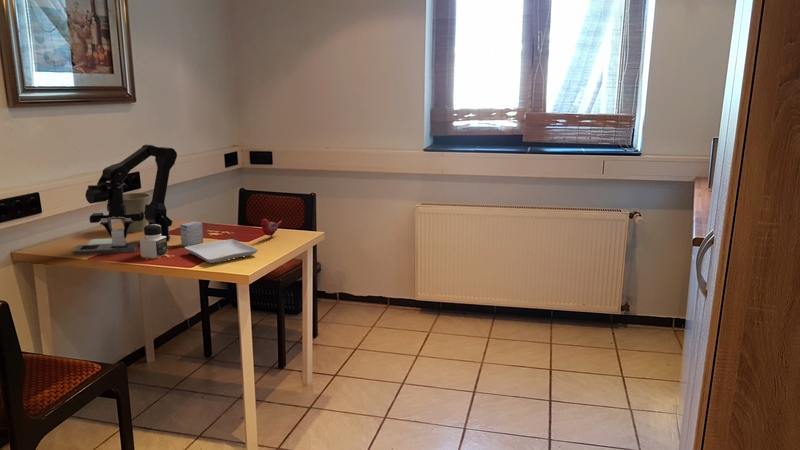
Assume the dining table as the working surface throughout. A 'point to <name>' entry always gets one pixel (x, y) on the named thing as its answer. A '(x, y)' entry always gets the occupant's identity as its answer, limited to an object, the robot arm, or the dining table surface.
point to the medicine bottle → (153, 242)
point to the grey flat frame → (104, 249)
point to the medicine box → (191, 233)
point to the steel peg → (118, 237)
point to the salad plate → (221, 250)
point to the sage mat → (100, 241)
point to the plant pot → (136, 209)
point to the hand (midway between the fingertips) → (119, 238)
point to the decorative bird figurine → (269, 227)
